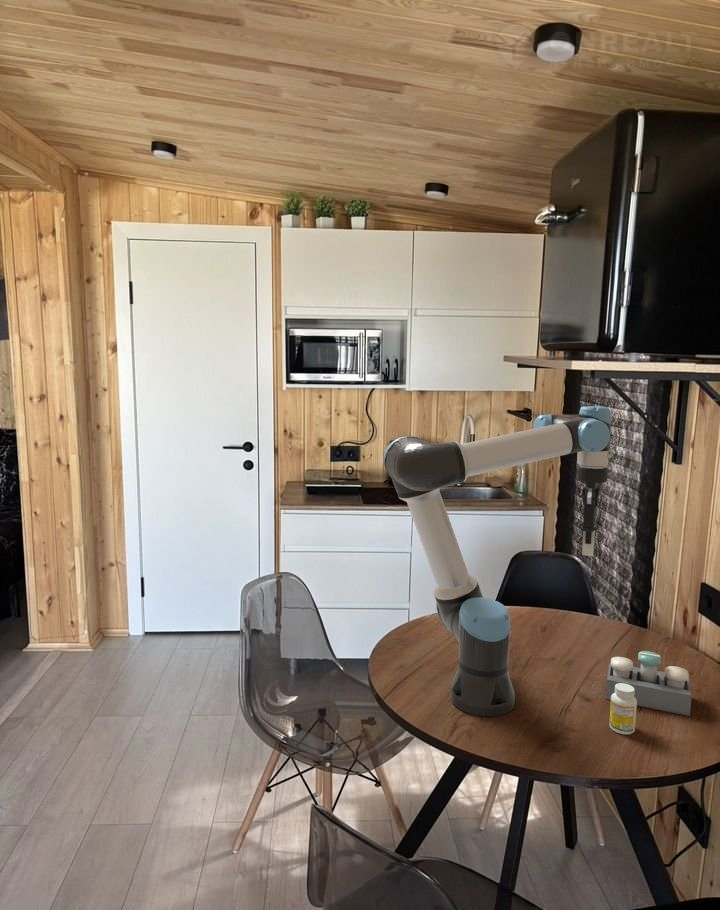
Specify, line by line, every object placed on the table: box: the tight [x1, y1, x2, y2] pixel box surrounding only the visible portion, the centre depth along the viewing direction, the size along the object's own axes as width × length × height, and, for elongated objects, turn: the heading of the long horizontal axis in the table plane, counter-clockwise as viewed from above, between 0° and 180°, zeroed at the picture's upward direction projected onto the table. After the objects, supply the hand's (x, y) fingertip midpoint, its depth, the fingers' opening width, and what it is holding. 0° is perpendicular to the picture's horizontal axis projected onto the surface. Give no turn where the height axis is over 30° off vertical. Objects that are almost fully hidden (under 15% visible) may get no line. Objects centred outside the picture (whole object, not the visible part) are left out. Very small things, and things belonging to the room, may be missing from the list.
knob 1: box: [610, 656, 634, 679], centre depth 155 cm, size 5×5×6 cm
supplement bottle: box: [609, 683, 638, 736], centre depth 139 cm, size 5×5×10 cm
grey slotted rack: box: [605, 661, 692, 717], centre depth 153 cm, size 10×18×5 cm, turn 66°
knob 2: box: [664, 665, 690, 689], centre depth 150 cm, size 5×5×6 cm
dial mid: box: [637, 650, 662, 684], centre depth 152 cm, size 5×5×7 cm
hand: (587, 554), depth 167 cm, fingers closed
